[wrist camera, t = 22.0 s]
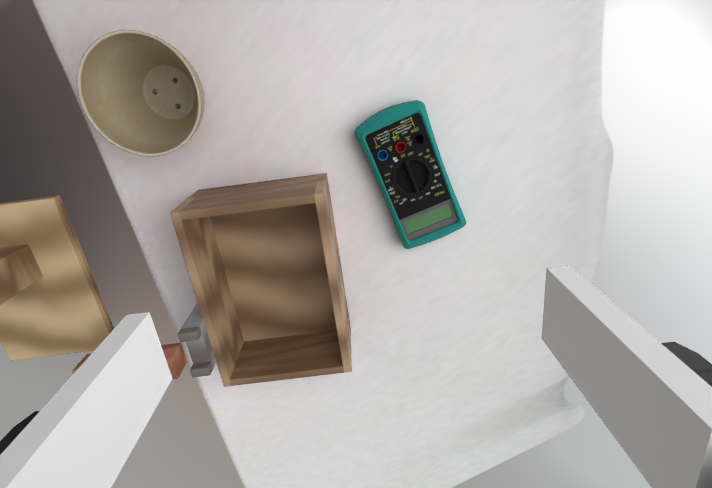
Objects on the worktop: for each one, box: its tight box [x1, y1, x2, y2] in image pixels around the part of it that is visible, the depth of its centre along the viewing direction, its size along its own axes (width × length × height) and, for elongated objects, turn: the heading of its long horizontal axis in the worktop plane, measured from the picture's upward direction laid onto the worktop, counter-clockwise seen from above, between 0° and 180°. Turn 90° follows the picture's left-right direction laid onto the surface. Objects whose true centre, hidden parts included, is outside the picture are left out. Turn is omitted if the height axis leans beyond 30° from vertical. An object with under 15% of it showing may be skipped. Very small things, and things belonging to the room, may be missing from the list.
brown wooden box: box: [170, 173, 352, 387], centre depth 44 cm, size 20×16×10 cm
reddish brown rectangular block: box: [72, 343, 187, 379], centre depth 41 cm, size 2×10×2 cm, turn 97°
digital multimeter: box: [356, 101, 466, 249], centre depth 44 cm, size 7×15×3 cm, turn 24°
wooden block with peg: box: [0, 196, 114, 361], centre depth 45 cm, size 19×13×9 cm
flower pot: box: [77, 30, 204, 156], centre depth 38 cm, size 10×10×7 cm
